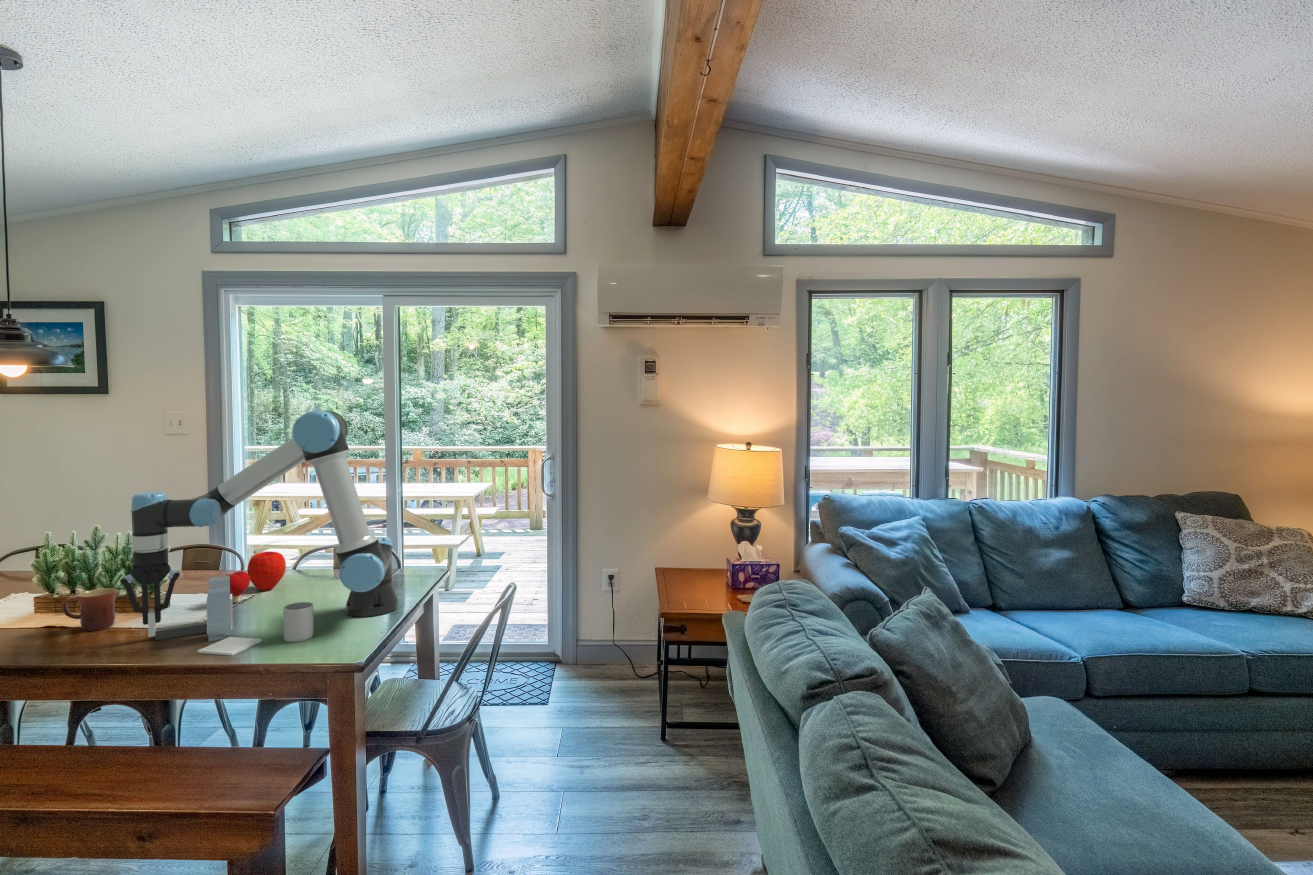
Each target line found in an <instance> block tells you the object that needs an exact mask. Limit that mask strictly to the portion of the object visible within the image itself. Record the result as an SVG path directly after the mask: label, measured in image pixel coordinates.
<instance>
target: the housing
mask: <svg viewBox="0 0 1313 875" xmlns="http://www.w3.org/2000/svg"><path fill="white" fill-rule="evenodd" d="M207 597H208V633H209V634H208V642H214V641H221V640H223V639H226V638H228V637H232V634H231V632H232V630H231V617H230V575H229V576H225V575H221V576H213V577H208V587H207Z"/></svg>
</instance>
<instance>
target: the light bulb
mask: <svg viewBox="0 0 1313 875" xmlns="http://www.w3.org/2000/svg"><path fill="white" fill-rule="evenodd" d="M229 575H230V594H232V604H238V603H239V602H240V601H241V595H242V594H243V593H245V591H246V590H247V589H248V587H249V586H250V583H251V581H250V577H249V575H248V572H246V571H244V570H237V571H234V572H233V573H229V574H228V573H227V574H225V575H224V576H229Z"/></svg>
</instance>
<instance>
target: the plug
mask: <svg viewBox="0 0 1313 875" xmlns="http://www.w3.org/2000/svg"><path fill="white" fill-rule="evenodd" d="M233 608H234V607H233V602H232V594H230V617H231V631H233V630H234V627H233V626H234V624H233V621H234V620H233V619H234V617H233V616H234V614H233V612H234V611H233ZM203 633H206V634H207V635H209V633H208V596H207V597H206V621H201V622H195V623H188V624H181V625H174V626H168V627H166V626H165V627H160V628H156V631H155V636H154V638H155V640H154V641H159V640H165V639H171V638H179V637H185V636H191V635H197V634H203Z"/></svg>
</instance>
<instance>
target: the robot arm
mask: <svg viewBox="0 0 1313 875" xmlns="http://www.w3.org/2000/svg"><path fill="white" fill-rule="evenodd" d="M348 431H349V426H348V424H347V421H346V419H345V418H344V417H343V416H342V415H341V414H339V413H337V412H335V411H332V410H326V409H325V410H323V409H316V410H310V411H306V412H305V413H303V414H302V415H300V416H299V417H298V418H297V419H296V421H295V422H294V424H293V426H292V438H291V439H289V440H287V441H286V442H284V443H282V444H281V445H280V446H278V447H277V448H275V449H273V450H272V451H270V452H269V453H267V454H265V455H263V456H262V457H261V458H259V459H257V460H256V461H255V462H253V463H252V464H250V465H249V466H247V467H245V468H244V469H242V470H241V471H239V472H238V473H236V474H234V475H232V476H231V477H230V478H228V479H227V480H225V481H223V482H222V483H220V484H219V485H218V486H216V487H214V488H212V489H211V490H210V491H208V492H207V493H205V494H202V495H200V496H197V497H193V498H189V499H187V498H186V499H168V495H167V493H166V492H163V491H161V492H159V491H154V492H153V491H152V492H151V491H150V492H140V493H136V494H134V495H133V496H132V498H131V499H132V500H131V508H130V509H131V510H130V513H131V531H132V532H131V533H132V535H131V545H132V550H133V552H132V569H131V571H130V573H129V574H127V575H126V576H123V577H122V578H121V579H120V580H119V583H121V585H122V586H124V588H125V590H126V593H127V596H128V599H129V601H130V605H131V608H132V610H133V612H135V613H140V614H142V624H143V626H145V625H147V630H148V631H147V632H148V633H147V634H148V635H147V637H148V638H151V637H155V631H156V629H157V624H159V623H161V621H162V610H165V609H168V608H169V606H170V602H171V599H172V598H171V597H172V594H173V591H174V587H175V584H176V581H177V579H178V578H179V577H180V575H181V572H180V571H179V570H174V569H171V566H170V564H169V549H168V548H167V547H169V545H168V544H169V541H168V537H169V536H168V534H169V533H168V532H169V531H168V528H183V527H184V528H189V527H192V528H193V527H198V528H204V527H211V526H215V525H216V524H217V523H218V521H219V520H220V518H221V517H222V516H224V515H226V514H227V513H228V512H229V511H230V510H231V509H233V508H234V507H235V506H237V505H239V504H241V503H242V502H244V501H245V500H246V499H248V498H250V497H252V496H253V495H254V494H256V493H257V492H259V491H261V490H262V489H264V488H265V487H267V486H268V485H269V484H271V483H272V482H274V481H276V480H277V479H279V478H280V477H281V476H283V475H285V474H286V473H288V472H290V471H291V470H293V469H294V468H296V467H297V466H299V465H301V464H302V463H303V462H305V463H307V464H309V465H311V466H313V469H314V471H315V475H316V478H317V481H318V483H319V487H320V489H321V490H320V491H321V492H322V496H323V499H324V502H325V505H326V508H327V511H328V514H329V516H330V520H331V522H332V526H333V529H334V532H335V536H336V538H337V541H338V544H339V545H338V547H337V548H336V550H335V553H336V557H337V560H338V563H339V571H338V572H339V573H338V576H339V579H340V581H341V582H340V583H341V584H342V585H343V587H345V588H347V589H348V590H349V591H350V592H349V595H348V598H347V601H346V604H345V613H346V614H347V615H348V616H351V617H361V618H362V617H363V618H364V617H374V616H380V615H381V614H382V615H385V613H386V614H388V612H389V613H392V612H393V611H392V610H394V609H396V608H397V607H398V608H399V599H398V596H397V594H396V591H395V588H394V585H393V553H392V552H393V550H392V548H393V543H392V539H391V538H390V537H388V536H375V535H372V534H371V532H370V529H369V526H368V523H367V520H366V517H365V513H364V511H363V510H364V509H363V507H362V504H361V500H360V497H359V495H358V492H357V489H356V486H355V482H354V479H353V476H352V473H351V470H350V466H349V464H348V460H347V455H348V453H349V452H350V448H349V445H348V443H347V441H348V440H347V436H348V433H349V432H348ZM168 574H169V576H168V578H169V579H170V580H169V583H168V587H167V590H166V594H165V598H164V601H163V603H162V601H161V598H162V597H161V596H162V595H161V593H162V592H161V582H162V581H163V580H164V579H165V578H166V576H167V575H168ZM133 579H134V580H135V581H137V582H138V584H140V585H141V604H142V605H140V602H139V600H138V597H137V594H136V591H135V588H134V586H133V581H134V580H133ZM150 584H151V585H152V584H153V597H154V598H153V600H154V602H153V603H154V609H153V610H152V609H151V610H150V599H149V598H150V595H149V592H150V591H149V587H150V586H149V585H150ZM398 608H397V609H398ZM397 609H396V610H397ZM391 611H392V612H391ZM394 611H395V610H394Z"/></svg>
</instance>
